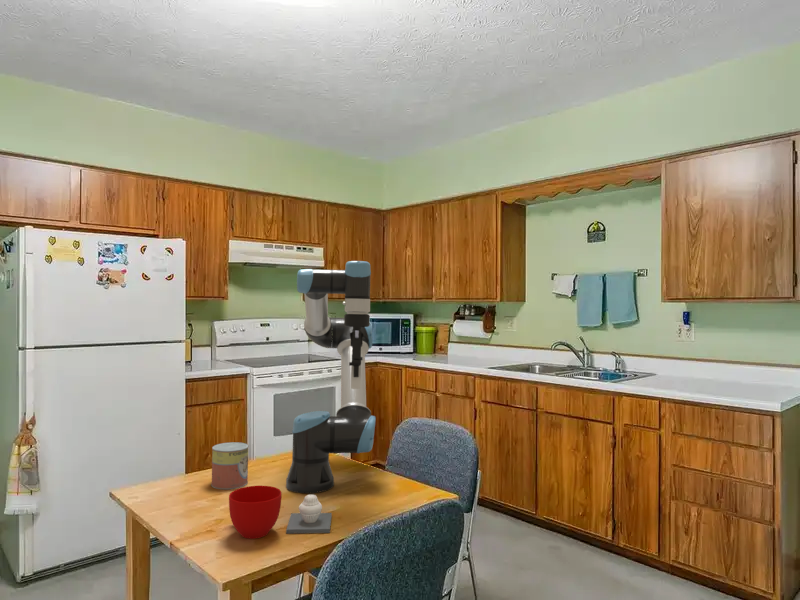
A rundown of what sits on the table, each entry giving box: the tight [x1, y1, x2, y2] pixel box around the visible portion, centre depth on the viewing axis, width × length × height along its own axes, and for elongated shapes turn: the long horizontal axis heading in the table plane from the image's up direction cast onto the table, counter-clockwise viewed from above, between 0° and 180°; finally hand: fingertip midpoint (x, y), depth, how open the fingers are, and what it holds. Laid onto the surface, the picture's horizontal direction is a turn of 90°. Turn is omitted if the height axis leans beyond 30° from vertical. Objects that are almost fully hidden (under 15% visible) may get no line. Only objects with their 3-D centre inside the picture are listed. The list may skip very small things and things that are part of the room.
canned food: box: [210, 441, 249, 490], centre depth 176 cm, size 11×11×12 cm
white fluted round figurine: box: [298, 493, 323, 523], centre depth 144 cm, size 6×6×7 cm
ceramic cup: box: [228, 485, 282, 540], centre depth 140 cm, size 13×17×10 cm
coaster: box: [285, 512, 333, 535], centre depth 144 cm, size 11×11×1 cm
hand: (355, 385), depth 161 cm, fingers open, 13 cm apart
